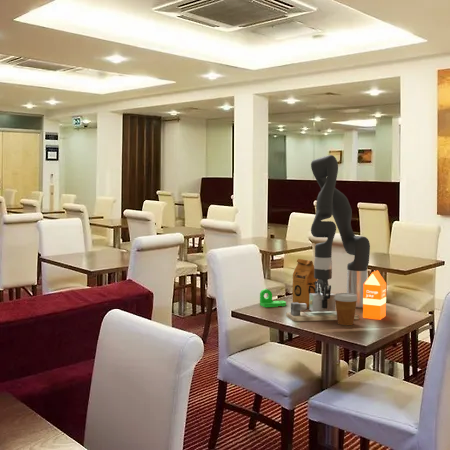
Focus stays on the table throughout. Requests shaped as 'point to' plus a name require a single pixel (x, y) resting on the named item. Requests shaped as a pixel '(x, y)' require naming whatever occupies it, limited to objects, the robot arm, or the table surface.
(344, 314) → the disposable coffee cup
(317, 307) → the block
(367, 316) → the orange juice
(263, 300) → the mechanical part
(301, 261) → the coffee package
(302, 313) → the coupling stand
